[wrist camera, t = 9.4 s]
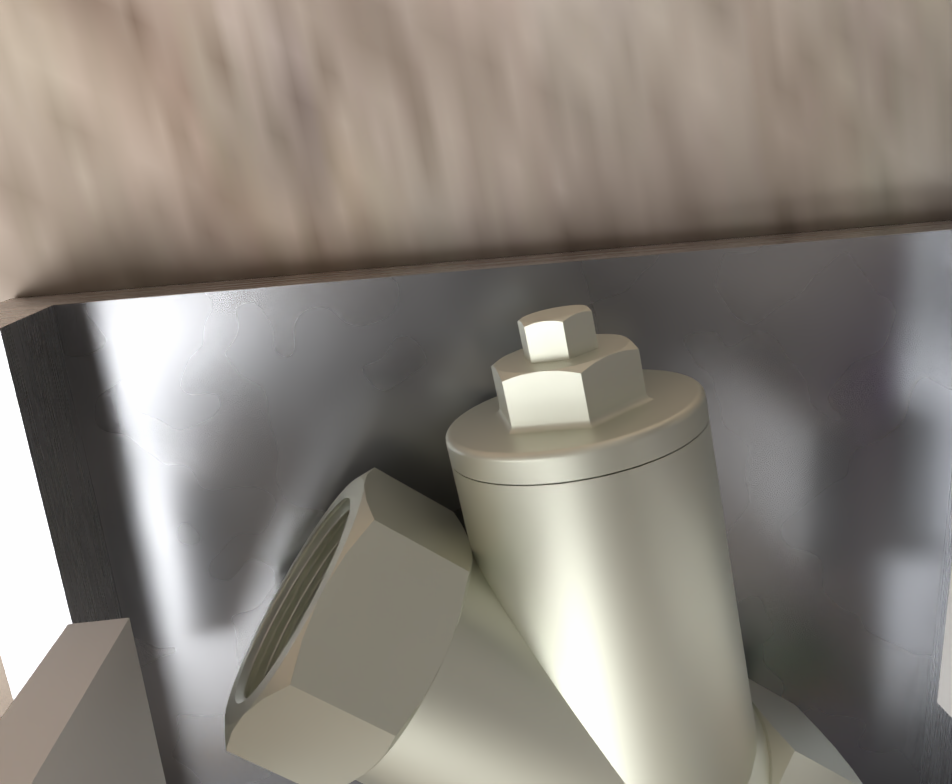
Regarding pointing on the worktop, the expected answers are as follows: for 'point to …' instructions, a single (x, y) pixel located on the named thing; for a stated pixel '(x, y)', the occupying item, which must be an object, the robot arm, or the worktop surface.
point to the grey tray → (430, 472)
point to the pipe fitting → (528, 602)
